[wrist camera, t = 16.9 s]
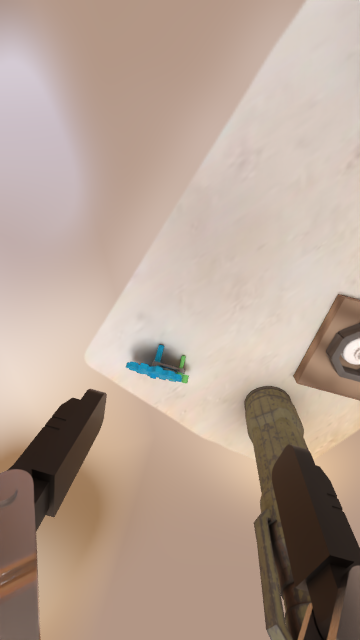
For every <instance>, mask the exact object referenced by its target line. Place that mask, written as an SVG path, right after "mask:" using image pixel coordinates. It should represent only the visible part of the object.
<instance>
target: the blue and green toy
mask: <svg viewBox="0 0 360 640" xmlns="http://www.w3.org/2000/svg"><path fill="white" fill-rule="evenodd" d="M163 349H164V346H163V345H159V346H158V350H157V354H156V357H155V361H153V362H152V365H151V367H149V365H148V364H144V363H141V365H139V364H138V363H136V362H130V363H129V362H128V363H127V365H126V368H129V370H132V371H136V372H137V373H140V374H147V376H150V378H153V379H156V377H159V379H163V380H166V379H169V381H174V382H176V381H178V382H181V381H182V382H183V383H187V382H188V377H189V376H188V375H184V373H185V370H184V369H183V366H184V362H185V358H186V357H185V356H182V357H181V362H180V366H179V368H178V367H175V366H171V365H167V364H164V363H160V361H161V357H162V353H163ZM161 367H164V368H168V369H172V370H175V371H176V372H177V373H175V372H173V371H170V370H163V368H161Z"/></svg>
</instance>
